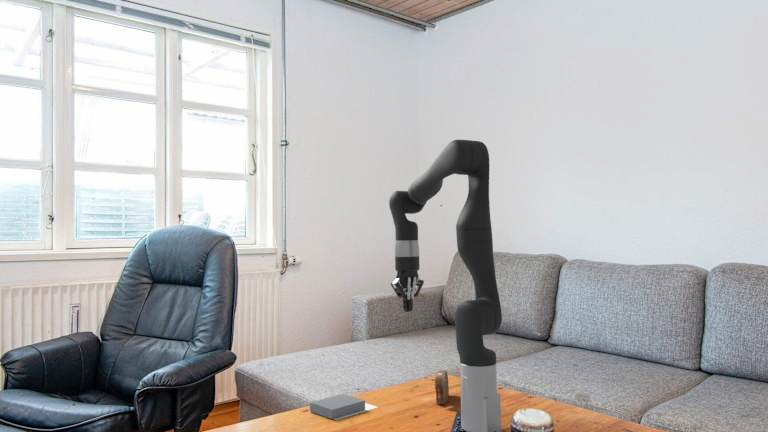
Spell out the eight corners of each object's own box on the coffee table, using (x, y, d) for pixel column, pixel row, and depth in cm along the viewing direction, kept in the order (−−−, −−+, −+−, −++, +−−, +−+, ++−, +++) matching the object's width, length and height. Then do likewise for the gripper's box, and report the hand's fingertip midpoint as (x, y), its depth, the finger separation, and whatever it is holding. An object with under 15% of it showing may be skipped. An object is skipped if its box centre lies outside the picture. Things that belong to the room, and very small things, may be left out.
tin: (445, 408, 161) (444, 379, 161) (434, 408, 162) (433, 379, 162) (449, 394, 176) (448, 367, 176) (439, 394, 176) (439, 367, 177)
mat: (378, 409, 161) (378, 407, 161) (335, 422, 150) (335, 420, 150) (351, 401, 170) (351, 399, 170) (309, 412, 159) (309, 410, 159)
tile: (364, 400, 159) (332, 409, 151) (365, 409, 159) (332, 419, 150) (342, 393, 166) (310, 402, 158) (342, 402, 166) (310, 411, 158)
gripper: (400, 256, 165) (402, 314, 164) (430, 254, 174) (431, 310, 173) (383, 255, 170) (384, 312, 169) (412, 254, 180) (413, 308, 179)
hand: (408, 311), depth 171 cm, fingers closed
